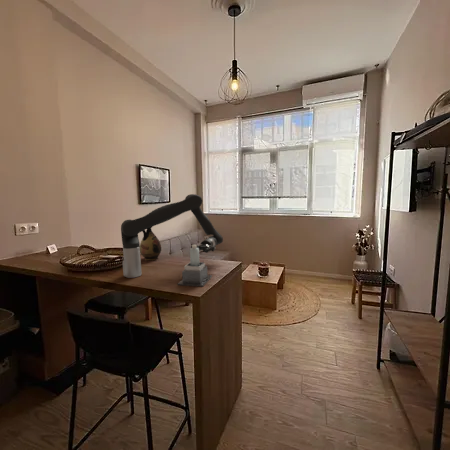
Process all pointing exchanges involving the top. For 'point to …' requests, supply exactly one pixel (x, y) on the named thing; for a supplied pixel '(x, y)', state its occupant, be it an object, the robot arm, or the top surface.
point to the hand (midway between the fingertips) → (199, 250)
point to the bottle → (194, 256)
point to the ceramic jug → (150, 245)
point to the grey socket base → (195, 275)
